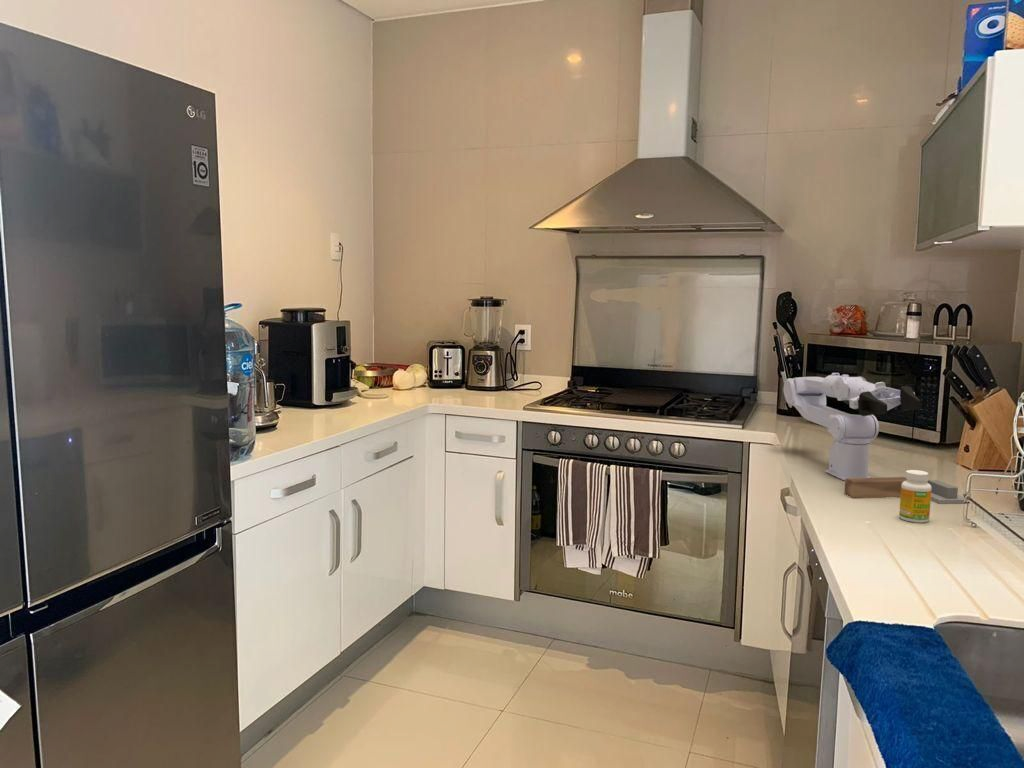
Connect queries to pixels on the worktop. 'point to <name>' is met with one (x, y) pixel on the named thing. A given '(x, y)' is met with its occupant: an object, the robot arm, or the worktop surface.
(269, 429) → the worktop surface
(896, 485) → the beam
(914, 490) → the supplement bottle
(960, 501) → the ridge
